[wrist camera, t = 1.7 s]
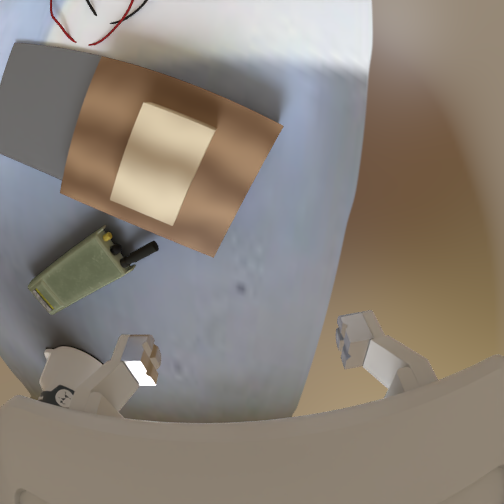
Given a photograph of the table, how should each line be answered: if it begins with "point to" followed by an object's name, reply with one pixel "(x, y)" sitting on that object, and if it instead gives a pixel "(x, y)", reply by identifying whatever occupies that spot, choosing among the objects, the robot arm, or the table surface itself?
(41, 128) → the mat
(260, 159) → the platform
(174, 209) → the tile
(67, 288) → the handheld radio
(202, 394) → the table surface
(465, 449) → the robot arm
